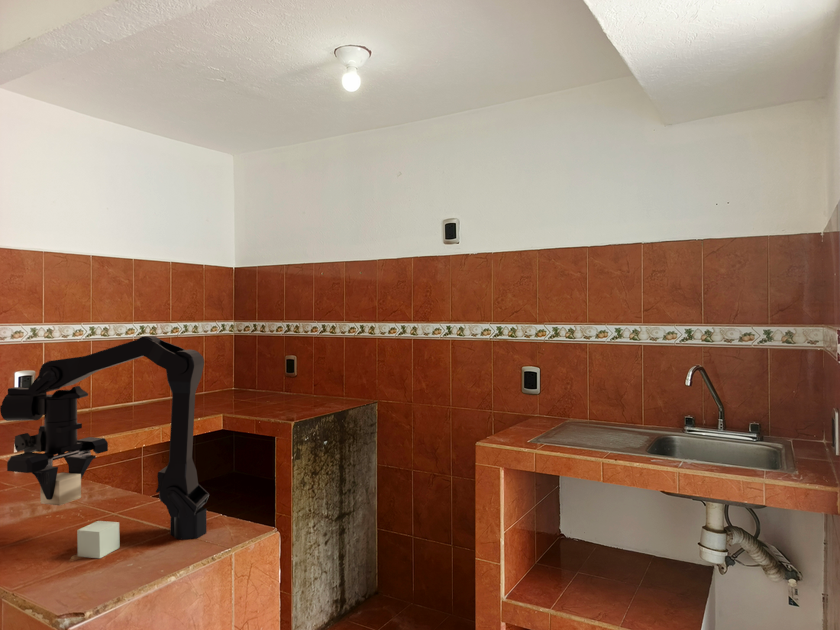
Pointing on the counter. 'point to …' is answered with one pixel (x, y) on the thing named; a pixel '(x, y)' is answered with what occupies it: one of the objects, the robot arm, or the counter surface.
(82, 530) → the sage block
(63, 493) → the maple block
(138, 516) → the counter surface
